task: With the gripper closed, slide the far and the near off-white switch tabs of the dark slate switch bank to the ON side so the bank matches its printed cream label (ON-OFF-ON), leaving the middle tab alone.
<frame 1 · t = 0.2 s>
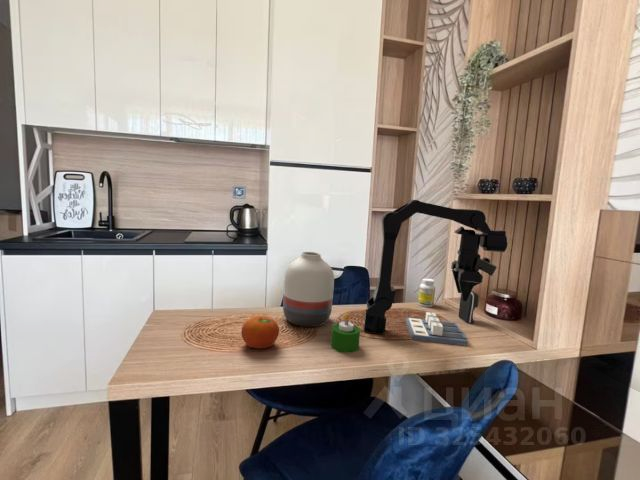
hand: (462, 296, 114), 14 cm above the table, fingers open, 9 cm apart
switch bank: (434, 332, 120), on the table
vase: (306, 320, 123), on the table
fruit: (259, 346, 101), on the table
dark grey upright slab: (467, 320, 135), on the table
candle: (344, 346, 105), on the table
pill bottle: (425, 305, 150), on the table
tab far: (430, 317, 124), point 3 cm above the table, slide at 0.0 cm
tab mid: (433, 322, 119), point 3 cm above the table, slide at 0.0 cm
tab near: (436, 328, 115), point 3 cm above the table, slide at 0.0 cm
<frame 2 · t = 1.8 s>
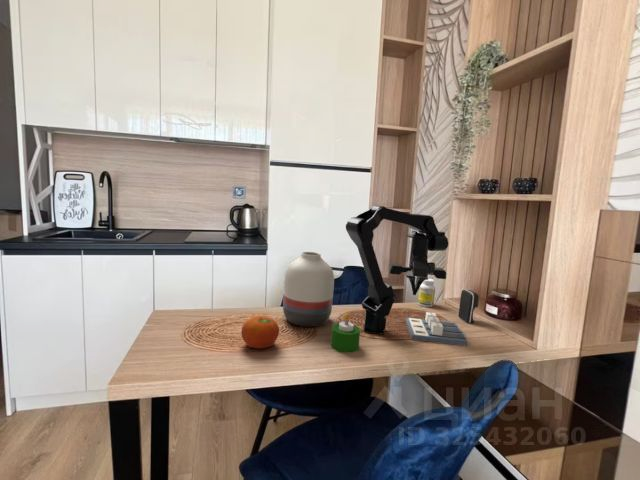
hand: (414, 294, 124), 11 cm above the table, fingers closed
nothing on the table moved.
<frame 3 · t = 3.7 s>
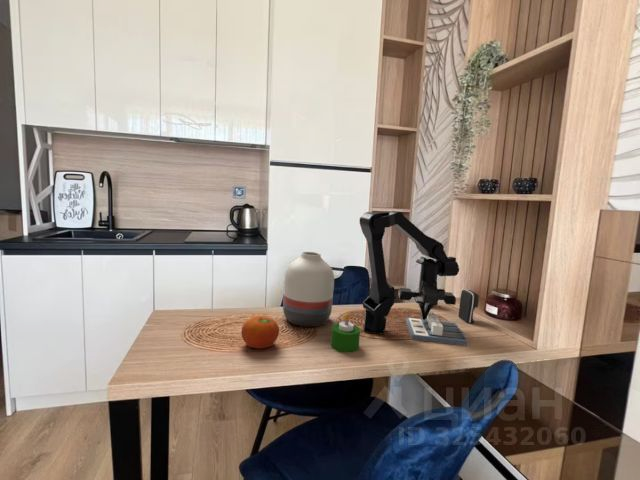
hand: (423, 319, 125), 2 cm above the table, fingers closed
tab far: (432, 317, 124), point 3 cm above the table, slide at 0.7 cm, touching gripper
everything else where it was.
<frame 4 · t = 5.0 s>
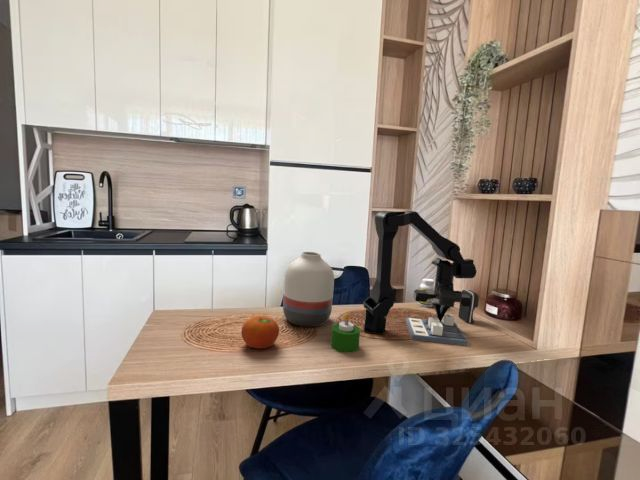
hand: (439, 321, 124), 2 cm above the table, fingers closed
tab far: (448, 319, 124), point 3 cm above the table, slide at 6.0 cm, touching gripper
everything else where it was.
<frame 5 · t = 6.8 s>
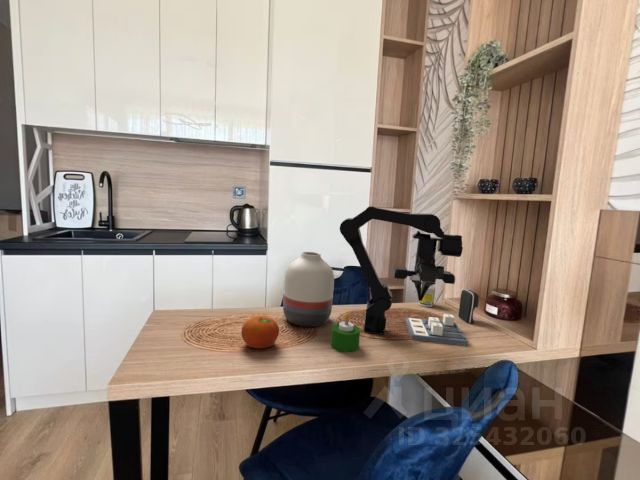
hand: (419, 300, 115), 12 cm above the table, fingers closed
tab far: (448, 319, 124), point 3 cm above the table, slide at 6.0 cm
everything else where it was.
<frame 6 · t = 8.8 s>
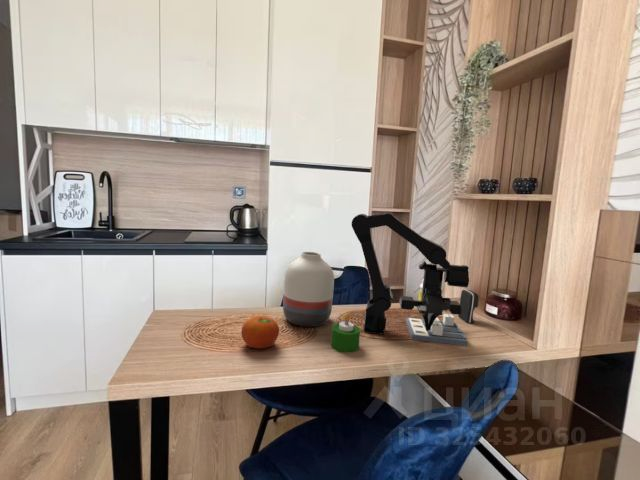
hand: (427, 330, 115), 2 cm above the table, fingers closed
tab near: (436, 328, 115), point 3 cm above the table, slide at 0.0 cm, touching gripper
everything else where it was.
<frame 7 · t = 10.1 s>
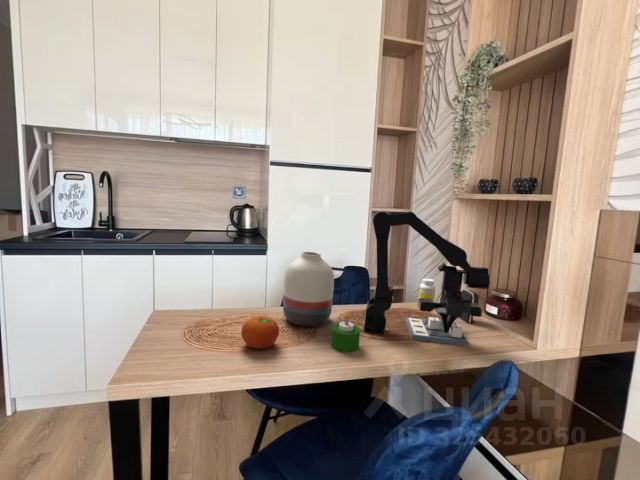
hand: (445, 332, 114), 2 cm above the table, fingers closed
tab near: (455, 330, 114), point 3 cm above the table, slide at 6.0 cm, touching gripper
everything else where it was.
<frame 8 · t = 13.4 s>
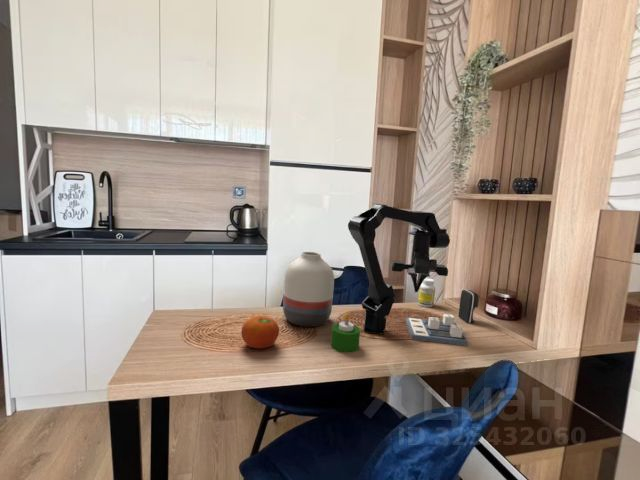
hand: (415, 291, 124), 12 cm above the table, fingers closed
tab near: (456, 330, 114), point 3 cm above the table, slide at 6.0 cm
everything else where it was.
at the end: tab far slide at 6.0 cm; tab near slide at 6.0 cm; tab mid slide at 0.0 cm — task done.
